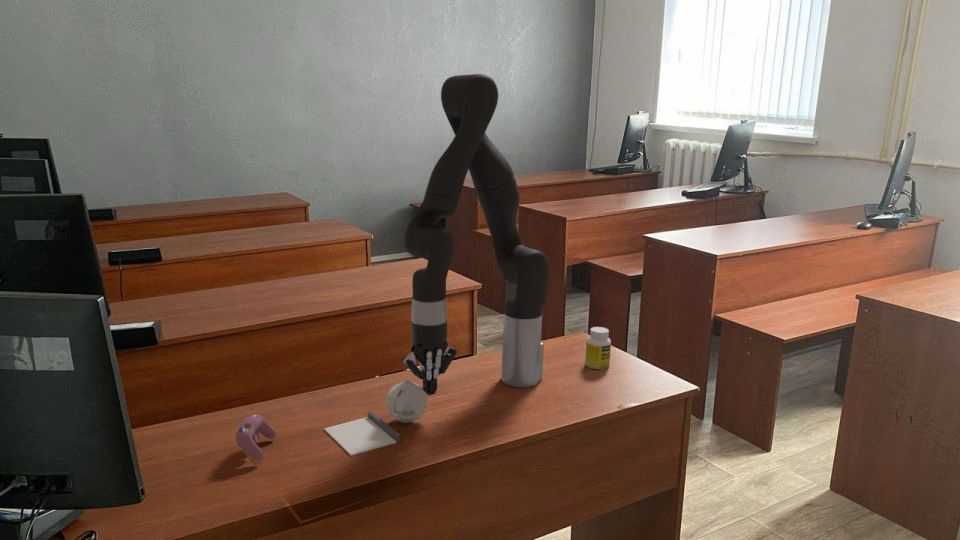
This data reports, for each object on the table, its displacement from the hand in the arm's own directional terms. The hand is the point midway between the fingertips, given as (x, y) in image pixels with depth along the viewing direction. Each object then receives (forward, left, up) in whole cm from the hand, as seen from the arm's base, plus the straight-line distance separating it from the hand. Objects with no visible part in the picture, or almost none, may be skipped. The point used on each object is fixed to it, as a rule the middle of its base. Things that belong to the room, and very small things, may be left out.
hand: (429, 393), depth 156 cm
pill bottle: (-50, 0, -6) cm, 51 cm away
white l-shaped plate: (+17, 0, -5) cm, 18 cm away
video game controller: (+36, -5, -6) cm, 37 cm away
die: (+6, 0, -6) cm, 8 cm away
